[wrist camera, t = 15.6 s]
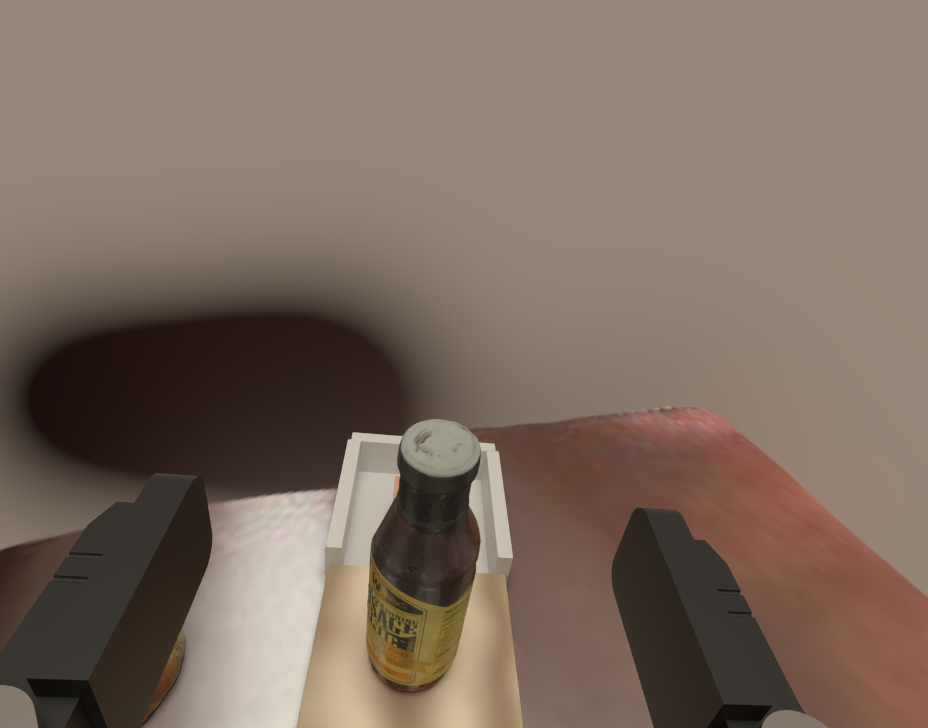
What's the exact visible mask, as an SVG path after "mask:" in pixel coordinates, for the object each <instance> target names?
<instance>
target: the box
mask: <svg viewBox="0 0 928 728" xmlns="http://www.w3.org/2000/svg"><path fill="white" fill-rule="evenodd" d="M402 437H403V436H390V435H379V434H366V433H365V434H364V433H353V435H352V440H348V443H347V448H346V453H345V458H344V462H343V467H342V472H341V476H340V481H339V486H338V491H337V495H336V500H335V505H334V509H333V514H332V519H331V524H330V528H329V533H328V538H327V542H326V550H325V583H326V578H327V573H328V568H329V564H330V565H348V566H365V567H370V551H371V542H372V538H373V536H374V534H375V533H376V531H377V529H378V527H379V526H380V524H381V522H382V520H383V519H384V517H385V515H386V513H387V511H388V510H389V508H390V506H391V504H392V500H393V491H394V480H395V476H400V472H399V469H398V466H397V456H398V450H399V444H400V442H401V439H402ZM479 444H480V448H481V458H480V465H479V470H478V474H477V476H476V478H475V480H474V481H473V482H472V484H471V489H470V494H469V500H470V501H469V506H470V508H471V510H472V512H473V514H474V515H475V518H476V520H477V523H478V526H479V531H480V539H481V543H480V551H479V556H478V560H477V562H476V573H488V574H505V579H506V583H507V579H508V575H509V571H510V568H511V564H512V560H513V554H512V547H511V539H510V532H509V525H508V517H507V510H506V503H505V495H504V488H503V481H502V473H501V466H500V459H499V451H495V444H489V443H479Z"/></svg>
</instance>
